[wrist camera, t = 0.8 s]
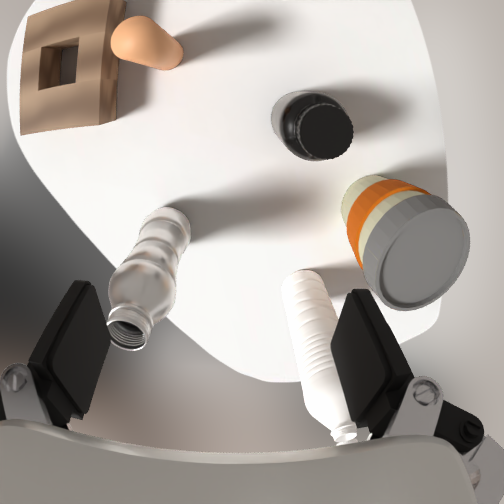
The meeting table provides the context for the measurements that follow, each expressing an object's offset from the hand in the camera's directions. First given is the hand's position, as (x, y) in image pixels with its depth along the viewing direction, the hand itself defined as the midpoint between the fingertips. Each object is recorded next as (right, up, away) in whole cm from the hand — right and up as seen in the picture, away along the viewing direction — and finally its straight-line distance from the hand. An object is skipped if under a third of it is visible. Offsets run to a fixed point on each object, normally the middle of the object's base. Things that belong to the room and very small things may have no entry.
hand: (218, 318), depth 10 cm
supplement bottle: (+7, +18, +22) cm, 29 cm away
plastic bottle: (-10, +6, +28) cm, 30 cm away
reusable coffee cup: (+18, +9, +28) cm, 34 cm away
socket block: (-21, +26, +15) cm, 36 cm away
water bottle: (+9, -4, +35) cm, 36 cm away
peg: (-9, +25, +16) cm, 31 cm away
